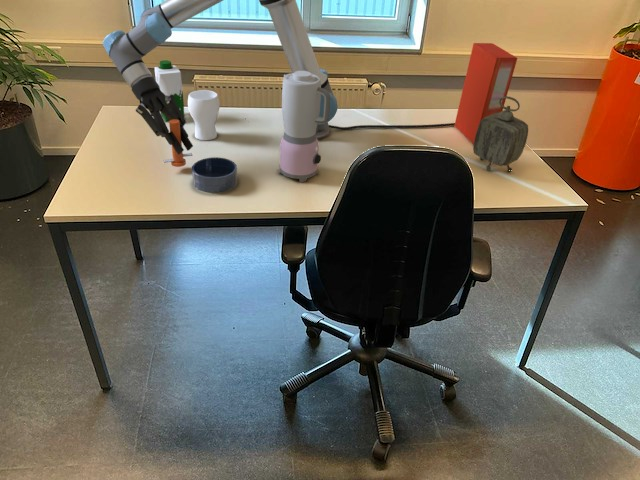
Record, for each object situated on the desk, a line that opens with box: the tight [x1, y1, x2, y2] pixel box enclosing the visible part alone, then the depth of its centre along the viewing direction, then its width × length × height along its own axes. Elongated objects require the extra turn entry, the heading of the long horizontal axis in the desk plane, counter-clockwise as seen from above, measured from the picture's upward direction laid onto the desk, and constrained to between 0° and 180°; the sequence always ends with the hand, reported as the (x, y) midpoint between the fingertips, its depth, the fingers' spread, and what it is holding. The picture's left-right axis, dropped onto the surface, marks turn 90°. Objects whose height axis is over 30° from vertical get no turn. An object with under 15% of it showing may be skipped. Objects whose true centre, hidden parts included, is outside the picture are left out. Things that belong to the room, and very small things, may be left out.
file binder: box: [453, 42, 518, 145], centre depth 191 cm, size 8×17×32 cm, turn 13°
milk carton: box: [154, 60, 185, 122], centre depth 192 cm, size 9×9×20 cm
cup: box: [187, 89, 221, 141], centre depth 182 cm, size 11×11×15 cm
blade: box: [162, 119, 194, 168], centre depth 159 cm, size 9×4×14 cm, turn 113°
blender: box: [278, 71, 330, 183], centre depth 158 cm, size 16×12×32 cm
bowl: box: [191, 156, 239, 194], centre depth 158 cm, size 13×13×6 cm
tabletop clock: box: [472, 95, 529, 173], centre depth 171 cm, size 14×9×25 cm, turn 44°
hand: (185, 150), depth 157 cm, fingers closed on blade, 3 cm apart
